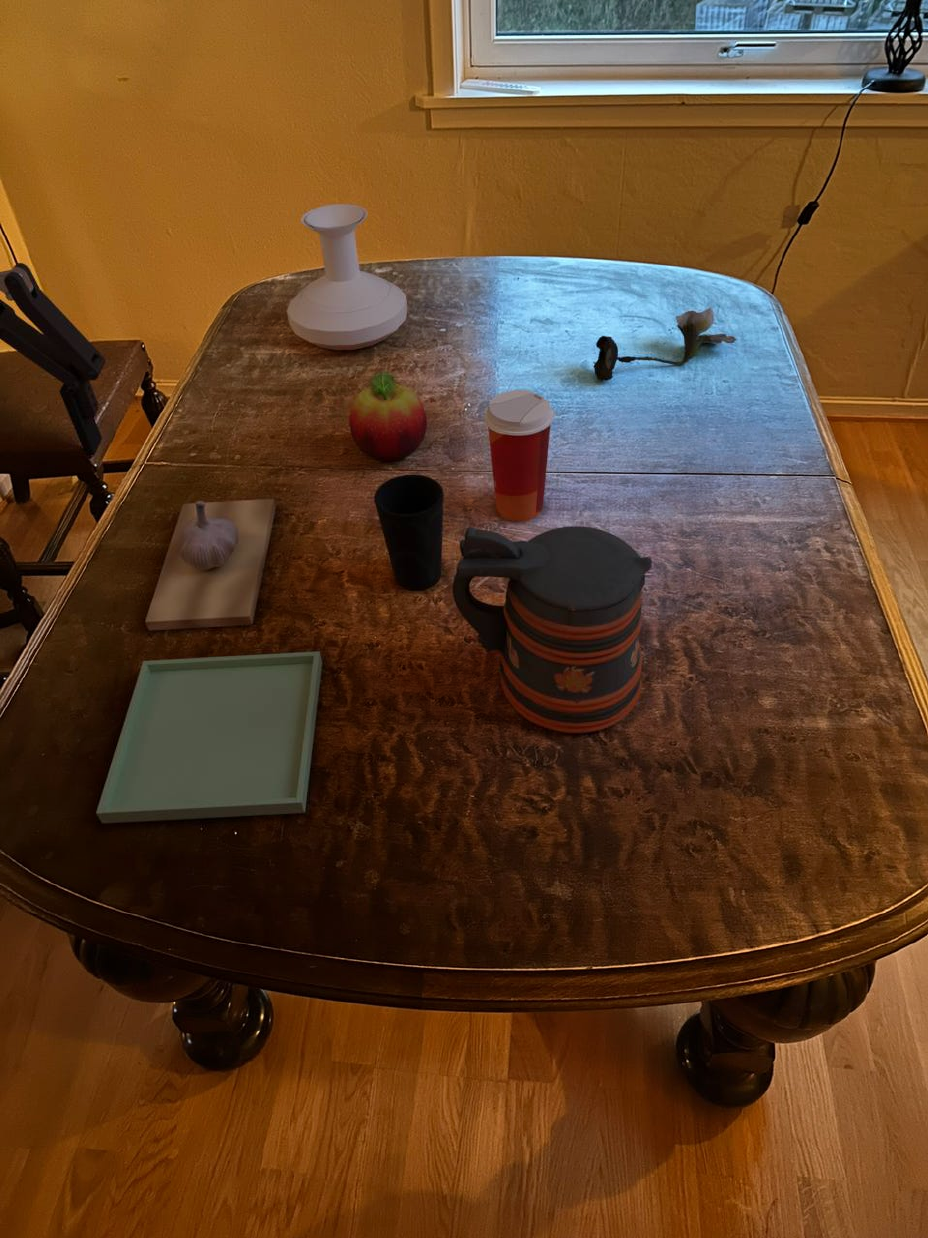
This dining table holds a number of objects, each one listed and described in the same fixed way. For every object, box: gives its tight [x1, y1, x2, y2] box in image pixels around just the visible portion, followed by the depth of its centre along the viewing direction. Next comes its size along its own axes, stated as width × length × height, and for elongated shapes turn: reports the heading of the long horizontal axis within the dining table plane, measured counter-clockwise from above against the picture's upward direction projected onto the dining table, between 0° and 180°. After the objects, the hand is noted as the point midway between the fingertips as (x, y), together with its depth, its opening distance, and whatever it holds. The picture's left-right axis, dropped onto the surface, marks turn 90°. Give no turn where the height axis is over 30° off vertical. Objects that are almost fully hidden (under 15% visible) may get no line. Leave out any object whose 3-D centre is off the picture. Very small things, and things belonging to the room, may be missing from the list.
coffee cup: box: [484, 389, 555, 522], centre depth 109 cm, size 8×8×15 cm
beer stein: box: [452, 525, 653, 734], centre depth 86 cm, size 19×15×20 cm
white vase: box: [286, 203, 408, 351], centre depth 144 cm, size 20×20×19 cm
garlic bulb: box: [180, 500, 238, 570], centre depth 105 cm, size 8×7×8 cm
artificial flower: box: [592, 306, 738, 382], centre depth 136 cm, size 9×22×10 cm, turn 106°
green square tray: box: [95, 651, 323, 824], centre depth 89 cm, size 19×19×2 cm
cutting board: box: [144, 498, 277, 632], centre depth 109 cm, size 12×22×2 cm, turn 2°
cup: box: [373, 473, 445, 592], centre depth 102 cm, size 8×8×12 cm
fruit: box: [348, 370, 428, 462], centre depth 122 cm, size 11×11×10 cm
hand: (20, 451), depth 81 cm, fingers open, 13 cm apart
